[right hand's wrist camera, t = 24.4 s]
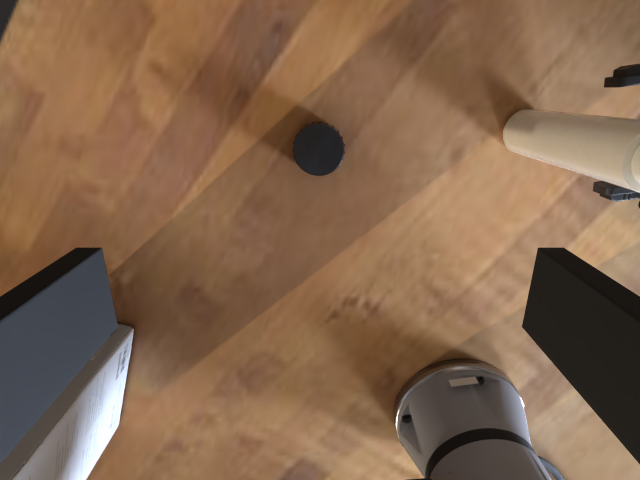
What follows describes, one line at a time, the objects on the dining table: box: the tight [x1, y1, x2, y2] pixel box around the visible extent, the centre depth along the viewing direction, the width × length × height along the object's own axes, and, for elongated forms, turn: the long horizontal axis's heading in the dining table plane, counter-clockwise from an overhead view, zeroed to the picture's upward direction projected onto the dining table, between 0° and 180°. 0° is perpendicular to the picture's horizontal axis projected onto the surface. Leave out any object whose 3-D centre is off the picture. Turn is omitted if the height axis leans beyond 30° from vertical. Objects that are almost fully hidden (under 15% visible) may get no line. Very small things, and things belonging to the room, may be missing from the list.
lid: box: [293, 122, 345, 176], centre depth 38 cm, size 5×5×2 cm
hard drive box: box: [0, 323, 134, 480], centre depth 38 cm, size 16×8×20 cm, turn 164°
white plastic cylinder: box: [503, 109, 640, 193], centre depth 30 cm, size 4×4×18 cm
